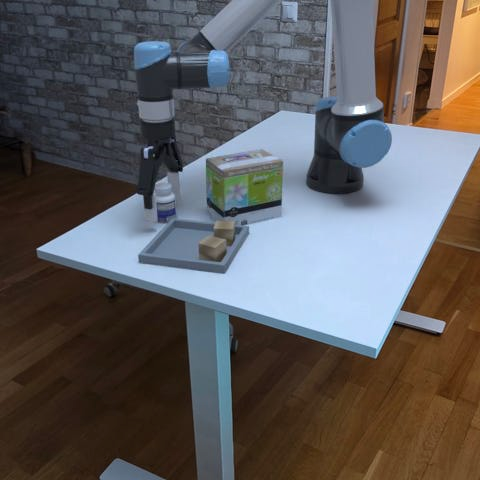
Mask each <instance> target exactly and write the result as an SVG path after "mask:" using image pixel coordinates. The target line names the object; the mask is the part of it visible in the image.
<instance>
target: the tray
mask: <svg viewBox="0 0 480 480" xmlns="http://www.w3.org/2000/svg"><path fill="white" fill-rule="evenodd" d="M215 223H216V222H215V221H205V220H204V221H202V220H193V219H182V218H177V219H176V218H172V219H171V220H170V221H169V222H168V223H165V225H164V226H163V227H162V228H161V229H160V230H159V232H158V233H157V234H156V235H154V236H153V238H152V239H151V240H150V241H149V242H148V244H147V245H146V246H145V247H144V248H143V249H142V250H141V251H140V252H139V253H138V254H137V258H138V263H139V264H143V265H144V264H145V265H153V266H162V267H163V266H164V267H168V268H177V269H185V270H192V271H200V272H208V273H215V274H223V275H225V274H226V273H227V272H228V269H229V267H230V266H231V264H232V262H233V261H234V260H235V258H236V256H237V254H238V252H239V251H240V250H241V248H242V246H243V245H244V242H245V241H246V240H247V238H248V237H249V235H250V225H245V226H242V225H235V241H234V243H233V244H232V246H226V249H227V254H226V255H225V257H224V258H223V260H222V261H221V262H213V261H205V260H199V247H198V243H199V242H201V241H202V240H204V239H205V238H206V237H208V236H209V235H210V236H214V226H215Z"/></svg>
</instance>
